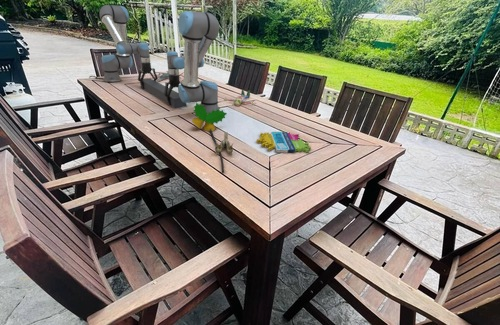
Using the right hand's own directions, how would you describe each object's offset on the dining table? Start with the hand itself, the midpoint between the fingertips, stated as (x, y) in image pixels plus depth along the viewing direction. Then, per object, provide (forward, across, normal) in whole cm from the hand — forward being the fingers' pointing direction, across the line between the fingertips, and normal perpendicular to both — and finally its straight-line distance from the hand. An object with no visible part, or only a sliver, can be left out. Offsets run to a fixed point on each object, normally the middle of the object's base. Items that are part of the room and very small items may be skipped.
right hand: (176, 104), depth 202 cm
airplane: (+1, -34, -90) cm, 96 cm away
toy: (+1, -51, +17) cm, 54 cm away
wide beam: (+1, 0, -27) cm, 27 cm away
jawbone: (0, +14, +86) cm, 87 cm away
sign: (+1, -20, +95) cm, 97 cm away
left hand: (0, 0, -55) cm, 55 cm away
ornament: (+1, +4, +55) cm, 55 cm away
